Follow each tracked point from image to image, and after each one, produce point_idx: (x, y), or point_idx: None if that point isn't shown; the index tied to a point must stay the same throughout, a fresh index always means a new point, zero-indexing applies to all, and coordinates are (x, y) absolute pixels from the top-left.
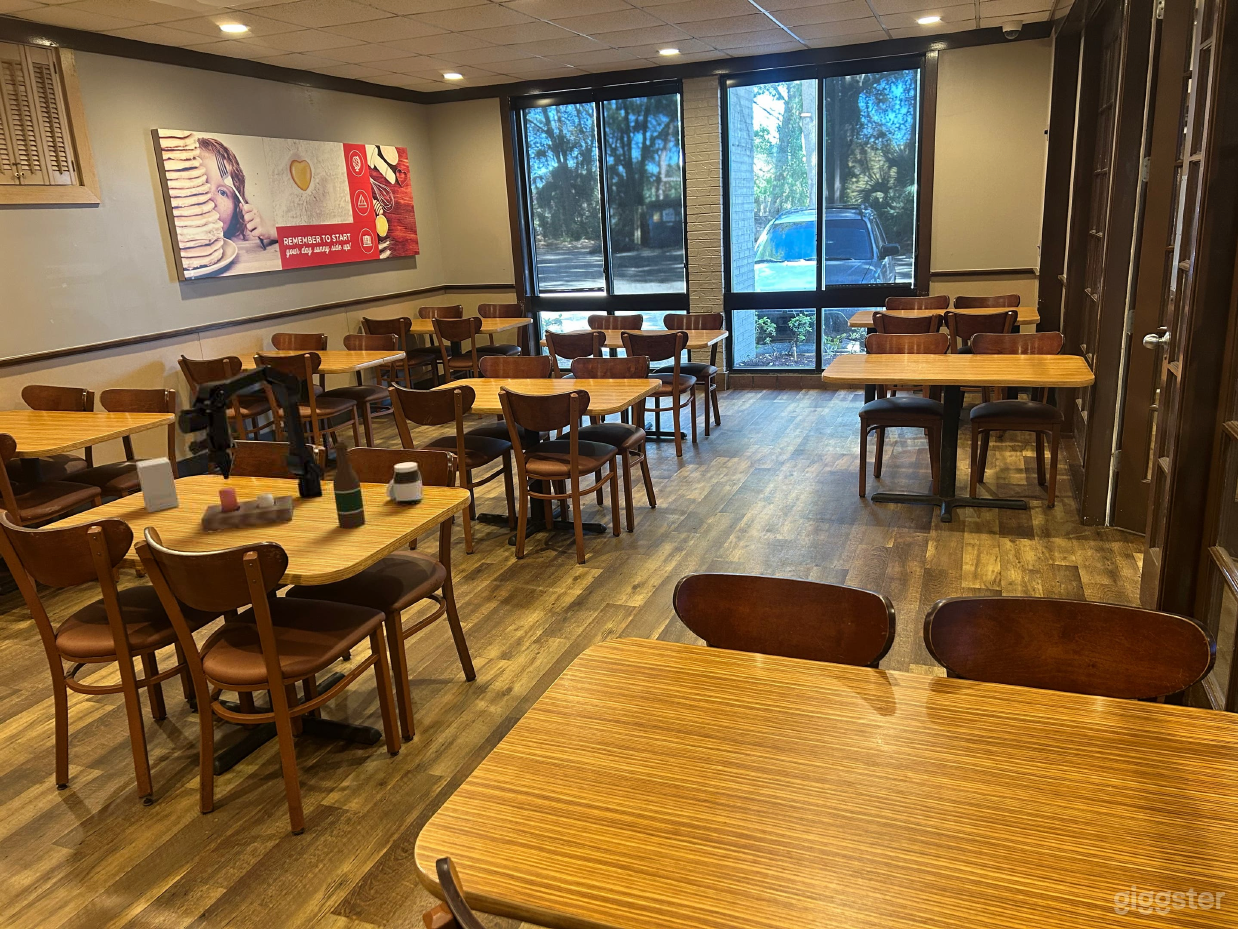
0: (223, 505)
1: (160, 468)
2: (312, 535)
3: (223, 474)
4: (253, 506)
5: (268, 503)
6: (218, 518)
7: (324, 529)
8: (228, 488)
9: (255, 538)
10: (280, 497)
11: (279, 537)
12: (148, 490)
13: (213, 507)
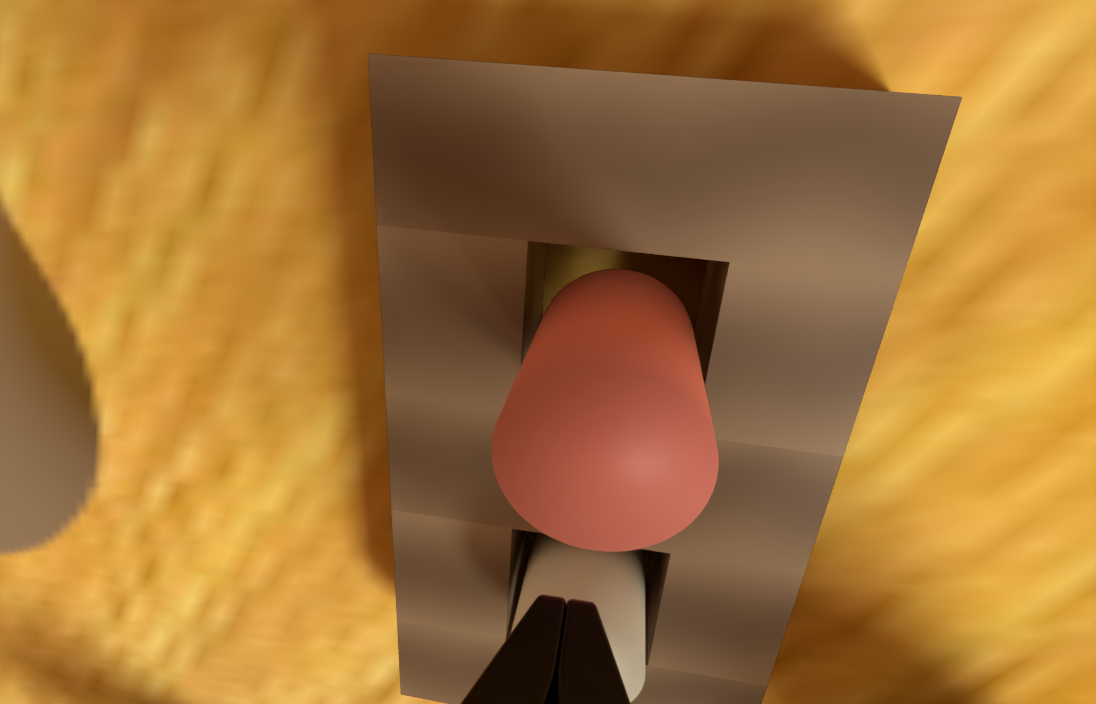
0: (549, 314)
1: None
2: (138, 645)
3: (484, 689)
4: None
5: None
6: (381, 230)
7: (214, 696)
8: (678, 486)
9: (160, 419)
10: (735, 699)
11: (145, 527)
12: None
13: (828, 172)
